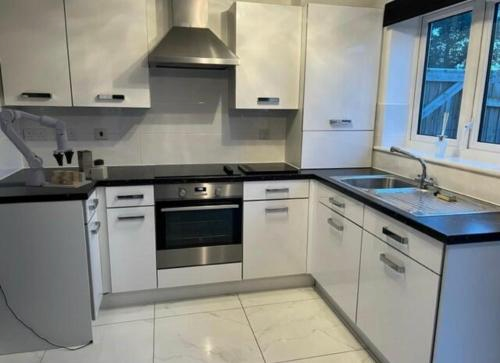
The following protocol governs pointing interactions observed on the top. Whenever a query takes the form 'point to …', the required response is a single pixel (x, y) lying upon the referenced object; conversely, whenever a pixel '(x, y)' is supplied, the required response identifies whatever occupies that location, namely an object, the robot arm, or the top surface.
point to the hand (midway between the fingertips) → (65, 164)
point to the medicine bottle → (99, 170)
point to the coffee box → (85, 162)
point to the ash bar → (64, 175)
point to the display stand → (69, 182)
